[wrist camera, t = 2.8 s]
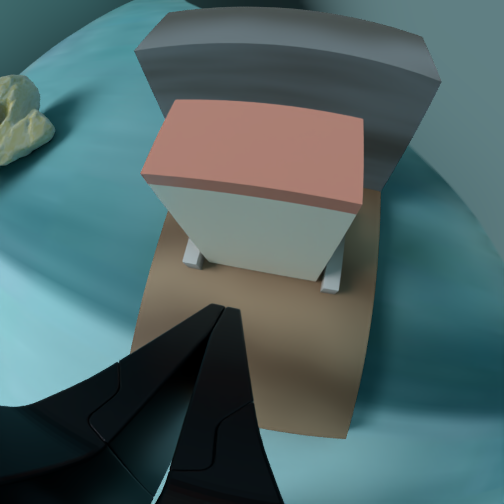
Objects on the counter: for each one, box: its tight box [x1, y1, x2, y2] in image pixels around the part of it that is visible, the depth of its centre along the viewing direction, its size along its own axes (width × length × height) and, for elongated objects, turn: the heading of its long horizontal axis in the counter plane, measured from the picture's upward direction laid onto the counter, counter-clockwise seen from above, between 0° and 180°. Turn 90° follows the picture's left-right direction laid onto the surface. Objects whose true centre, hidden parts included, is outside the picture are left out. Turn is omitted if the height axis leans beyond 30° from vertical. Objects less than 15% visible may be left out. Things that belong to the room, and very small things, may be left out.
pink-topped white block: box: [140, 100, 364, 281], centre depth 12 cm, size 3×6×9 cm, turn 78°
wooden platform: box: [130, 7, 441, 439], centre depth 13 cm, size 19×13×11 cm
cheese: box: [0, 75, 55, 166], centre depth 21 cm, size 15×7×15 cm
